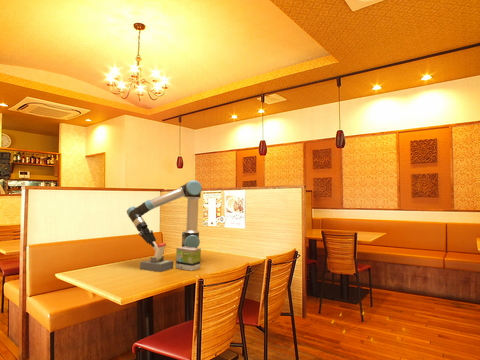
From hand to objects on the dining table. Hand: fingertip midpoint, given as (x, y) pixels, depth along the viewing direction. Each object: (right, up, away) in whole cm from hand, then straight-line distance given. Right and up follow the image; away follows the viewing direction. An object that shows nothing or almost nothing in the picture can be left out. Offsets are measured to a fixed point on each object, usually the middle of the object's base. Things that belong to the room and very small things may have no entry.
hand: (157, 249), depth 217 cm
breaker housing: (0, -13, 0) cm, 13 cm away
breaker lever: (0, -7, 0) cm, 7 cm away
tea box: (+22, -14, +2) cm, 26 cm away
